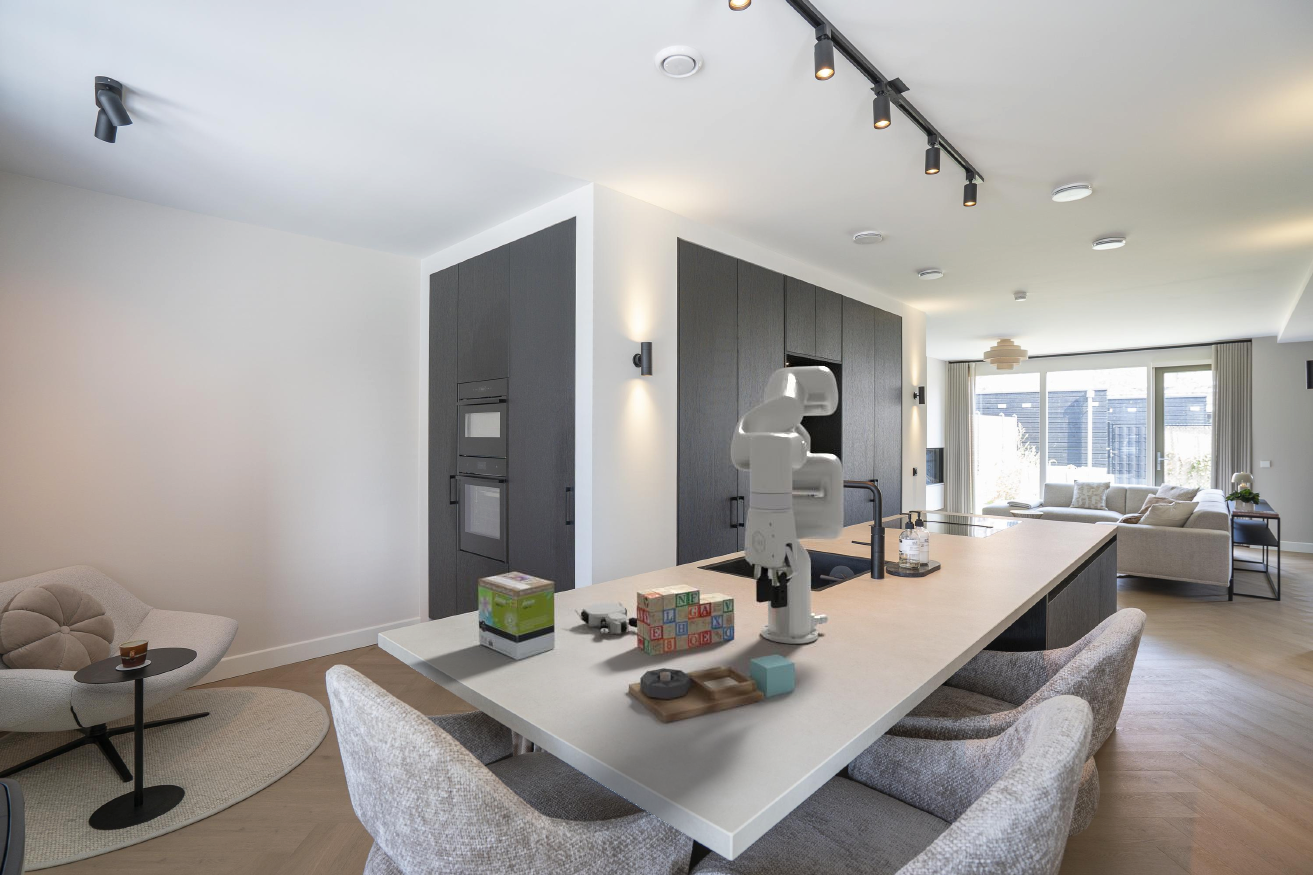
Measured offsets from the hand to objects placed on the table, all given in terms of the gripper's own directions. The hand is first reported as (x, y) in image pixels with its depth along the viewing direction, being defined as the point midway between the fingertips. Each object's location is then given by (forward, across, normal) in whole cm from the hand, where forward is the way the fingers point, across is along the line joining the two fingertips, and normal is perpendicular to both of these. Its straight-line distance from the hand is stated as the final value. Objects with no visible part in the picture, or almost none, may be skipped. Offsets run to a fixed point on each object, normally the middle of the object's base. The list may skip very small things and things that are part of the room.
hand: (771, 603), depth 114 cm
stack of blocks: (+16, -29, -2) cm, 33 cm away
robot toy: (+16, -46, -12) cm, 51 cm away
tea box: (+16, -43, -36) cm, 58 cm away
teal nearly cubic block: (+15, 0, 0) cm, 15 cm away
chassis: (+15, -4, -14) cm, 21 cm away
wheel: (+14, -5, -19) cm, 24 cm away
